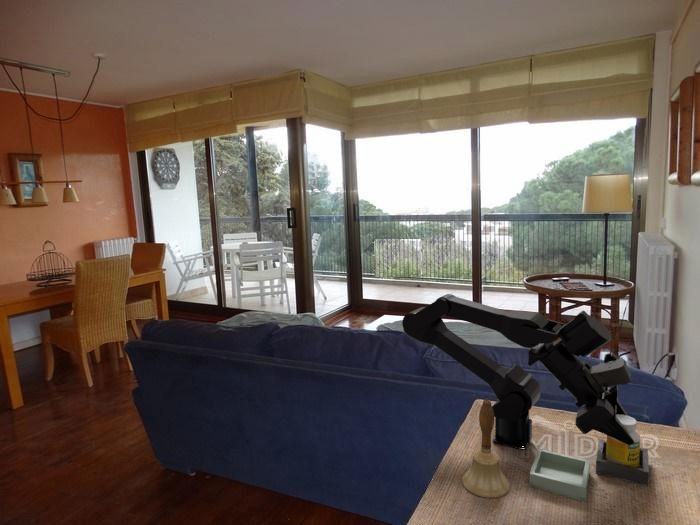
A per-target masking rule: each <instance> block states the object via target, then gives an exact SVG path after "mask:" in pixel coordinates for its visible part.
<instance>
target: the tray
mask: <svg viewBox="0 0 700 525" xmlns="http://www.w3.org/2000/svg"><path fill="white" fill-rule="evenodd" d="M531 465H532V466H531V469H530V471H529V479H528V480H529V483H528V486H529V487H530V488H535V489H538V490H541V491H546V492H548V493H552V494H556V495H560V496H563V497H568V498H571V499H575V500H579V501H582V502H586V499H587V492H588V486H589V478H590V473H591V471H590V470H591V467H590V466H591V460H589V459H586V458H581V457H576V456H572V455H568V454H563V453H560V452H556V451H551V450H546V449H543V448H542V449H541V448H537V451H536V454H535V456H534V460H533V462H532V464H531Z"/></svg>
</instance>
